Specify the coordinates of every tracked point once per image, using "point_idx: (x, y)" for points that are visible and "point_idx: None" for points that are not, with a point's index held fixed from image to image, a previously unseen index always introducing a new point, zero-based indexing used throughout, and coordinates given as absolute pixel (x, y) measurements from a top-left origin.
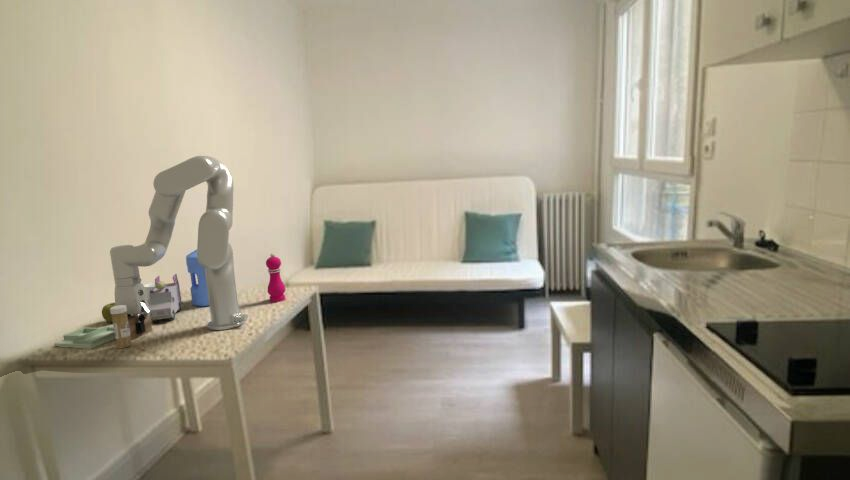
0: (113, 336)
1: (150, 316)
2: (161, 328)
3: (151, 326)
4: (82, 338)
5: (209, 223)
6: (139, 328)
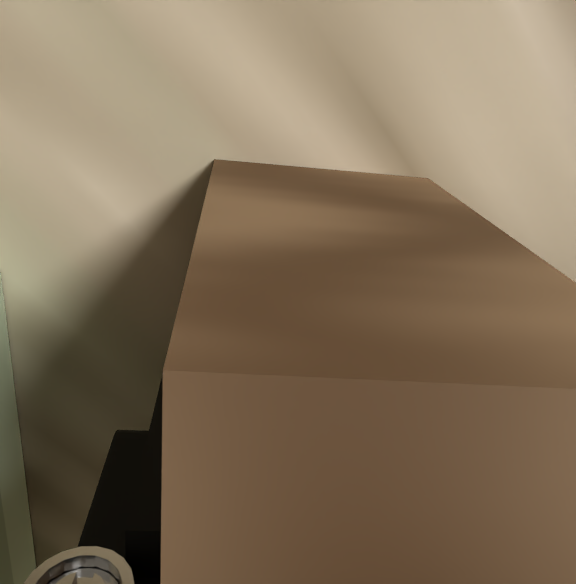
0: (17, 548)
1: None
2: (534, 11)
3: (461, 205)
4: None
5: None
6: None
